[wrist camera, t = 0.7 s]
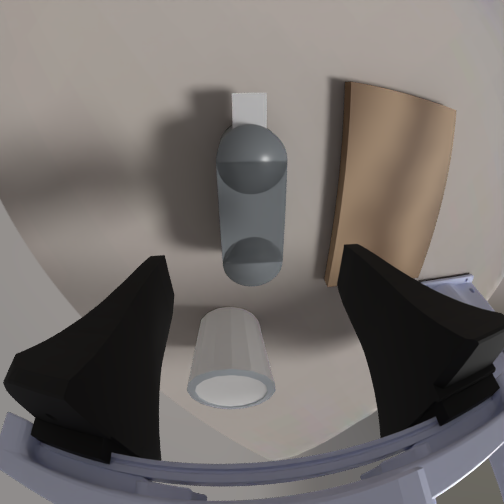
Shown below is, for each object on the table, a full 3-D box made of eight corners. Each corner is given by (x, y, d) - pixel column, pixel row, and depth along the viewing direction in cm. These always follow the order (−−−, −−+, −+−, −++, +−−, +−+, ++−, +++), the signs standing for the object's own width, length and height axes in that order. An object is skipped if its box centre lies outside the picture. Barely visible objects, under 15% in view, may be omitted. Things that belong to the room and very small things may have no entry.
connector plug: (275, 94, 14) (288, 92, 11) (272, 251, 20) (280, 284, 17) (217, 95, 14) (213, 93, 11) (225, 253, 20) (224, 287, 17)
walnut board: (448, 108, 14) (456, 110, 14) (413, 271, 23) (418, 277, 22) (344, 82, 14) (351, 81, 13) (324, 279, 22) (327, 286, 21)
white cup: (228, 357, 27) (230, 416, 21) (178, 326, 24) (168, 390, 18) (281, 328, 25) (293, 391, 19) (231, 288, 22) (233, 358, 16)
